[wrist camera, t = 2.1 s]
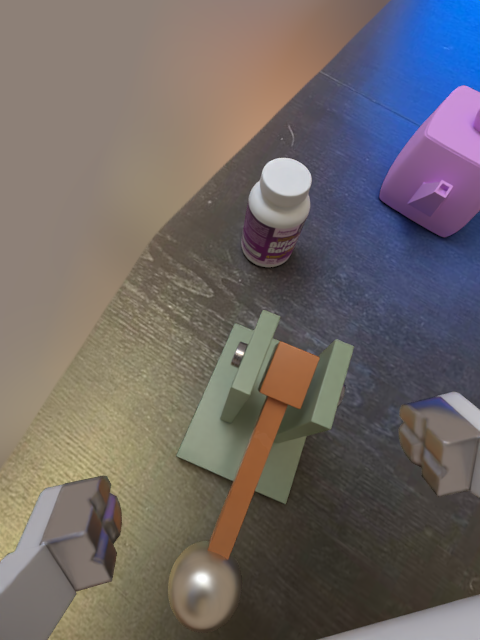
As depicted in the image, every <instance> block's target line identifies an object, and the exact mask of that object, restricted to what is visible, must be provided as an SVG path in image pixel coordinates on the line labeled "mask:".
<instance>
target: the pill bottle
mask: <svg viewBox="0 0 480 640" xmlns="http://www.w3.org/2000/svg"><path fill="white" fill-rule="evenodd" d="M311 182H312V179H311V174H310V172H309V171H308V169H307V168H306V167H305V166H304V165H303V164H301V163H300V162H298V161H296V160H293V159H289V158H278V159H274V160H272V161H270V162H269V163H267V164H266V165H265V167H264V169H263V171H262V175H261V179H260V181H259V182H257V183H256V184H255V185H254V187H253V188H252V190H251V192H250V195H249V199H248V205H247V211H246V216H245V222H244V228H243V234H242V240H241V245H242V250H243V253H244V254H245V255H246V257H247V258H248V259H249V260H250V261H251V262H253V263H254V264H256V265H259V266H262V267H275V266H278V265H281V264H283V263H284V262H285V261H287V260H288V258H289V257H290V255H291V253H292V251H293V249H294V247H295V244H296V242H297V240H298V237H299V235H300V232H301V230H302V228H303V225H304V223H305V221H306V218H307V216H308V213H309V210H310V198H309V195H308V193H309V189H310V186H311Z"/></svg>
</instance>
